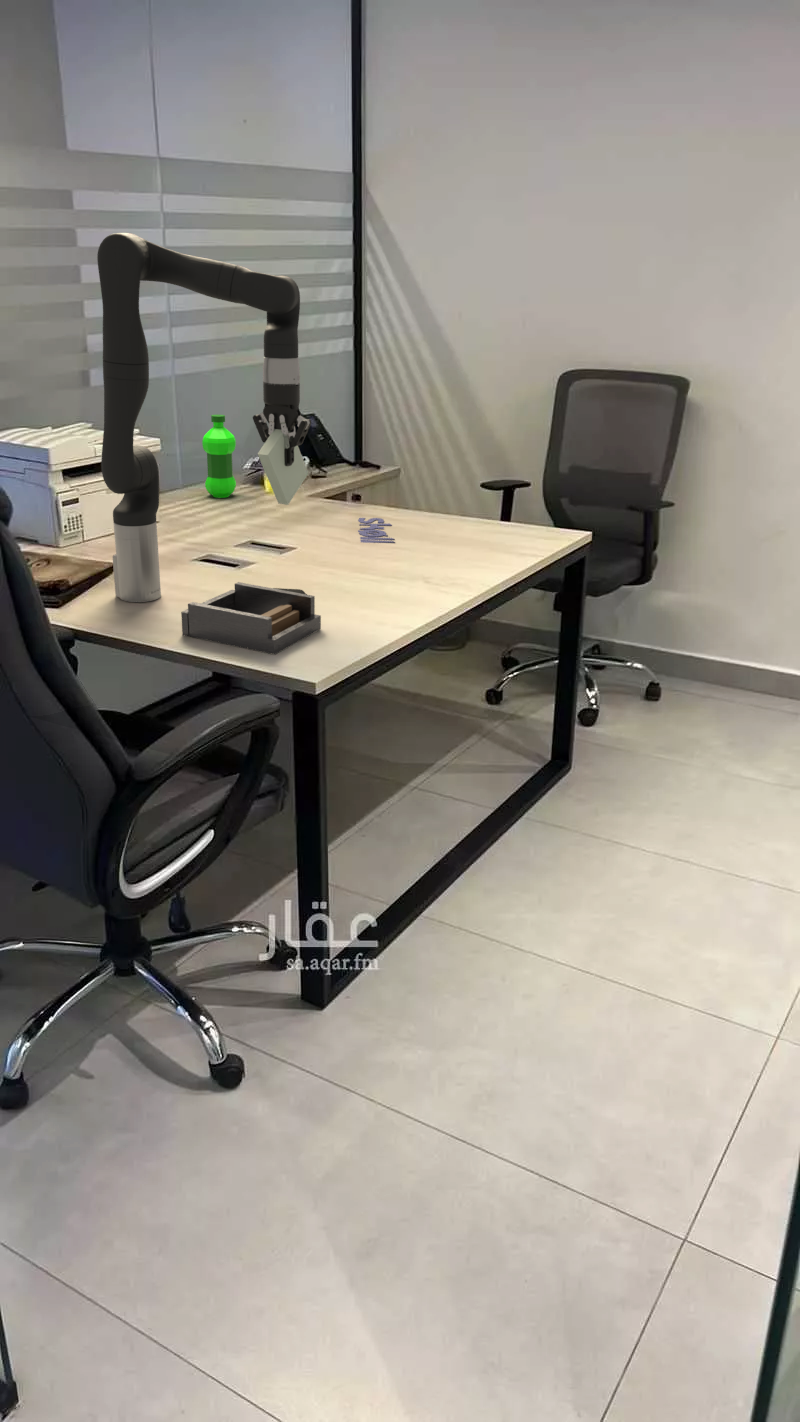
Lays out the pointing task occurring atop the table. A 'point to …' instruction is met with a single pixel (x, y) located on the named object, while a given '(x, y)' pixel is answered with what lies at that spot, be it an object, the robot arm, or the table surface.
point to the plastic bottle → (219, 458)
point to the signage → (373, 531)
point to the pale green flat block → (282, 468)
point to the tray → (250, 618)
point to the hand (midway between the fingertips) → (282, 464)
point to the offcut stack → (282, 618)
